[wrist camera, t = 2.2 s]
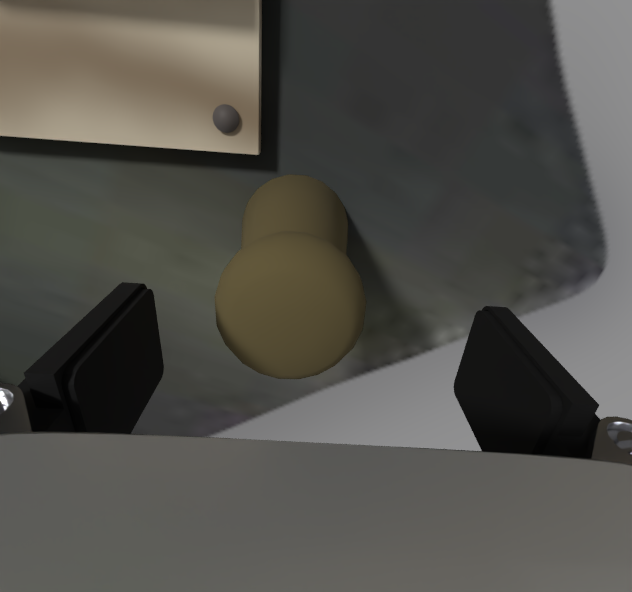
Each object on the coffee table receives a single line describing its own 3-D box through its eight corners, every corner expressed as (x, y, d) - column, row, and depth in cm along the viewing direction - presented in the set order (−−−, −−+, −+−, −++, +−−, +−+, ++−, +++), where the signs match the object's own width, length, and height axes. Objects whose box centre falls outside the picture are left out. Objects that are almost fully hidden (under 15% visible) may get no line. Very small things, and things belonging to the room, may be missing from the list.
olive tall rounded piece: (219, 225, 21) (148, 328, 11) (298, 149, 19) (293, 192, 10) (293, 295, 23) (286, 433, 13) (369, 232, 22) (425, 337, 12)
